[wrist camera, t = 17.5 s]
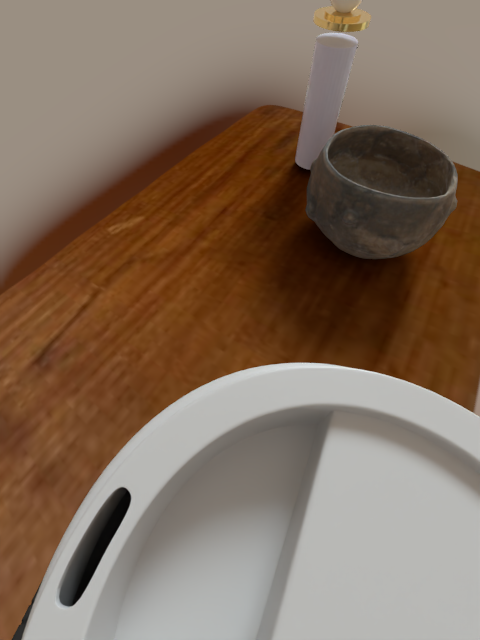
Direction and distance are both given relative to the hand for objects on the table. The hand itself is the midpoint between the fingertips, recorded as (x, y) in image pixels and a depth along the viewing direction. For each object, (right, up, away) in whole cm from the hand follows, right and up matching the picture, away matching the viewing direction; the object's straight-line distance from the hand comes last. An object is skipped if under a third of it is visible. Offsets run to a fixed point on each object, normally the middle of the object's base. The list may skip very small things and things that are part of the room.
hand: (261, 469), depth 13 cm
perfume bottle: (+9, +29, +32) cm, 44 cm away
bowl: (+13, +17, +25) cm, 33 cm away
